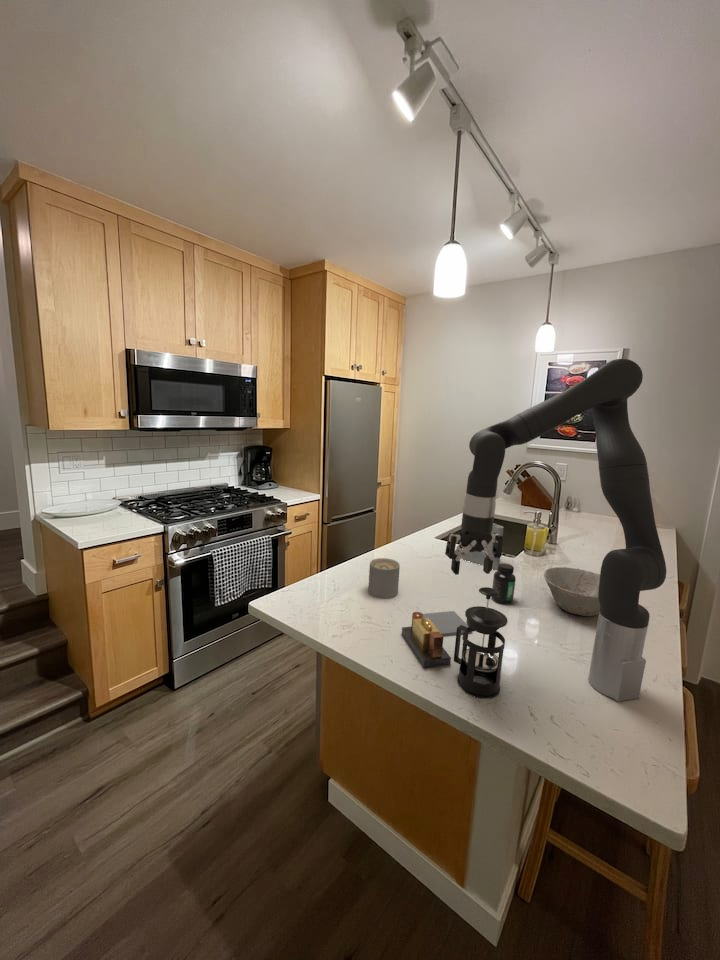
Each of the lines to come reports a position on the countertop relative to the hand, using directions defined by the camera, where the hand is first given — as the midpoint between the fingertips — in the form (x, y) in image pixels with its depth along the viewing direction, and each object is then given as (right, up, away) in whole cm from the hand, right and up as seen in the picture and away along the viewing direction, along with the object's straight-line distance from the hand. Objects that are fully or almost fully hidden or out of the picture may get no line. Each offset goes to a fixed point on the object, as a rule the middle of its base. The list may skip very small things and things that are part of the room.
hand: (471, 573), depth 104 cm
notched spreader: (+21, -11, +62) cm, 66 cm away
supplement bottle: (+19, -16, +31) cm, 40 cm away
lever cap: (-12, -18, +1) cm, 21 cm away
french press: (-2, -23, -11) cm, 25 cm away
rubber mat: (-4, -18, +14) cm, 23 cm away
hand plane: (-12, -20, +1) cm, 23 cm away
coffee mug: (-19, -14, +34) cm, 41 cm away
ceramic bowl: (+42, -18, +27) cm, 53 cm away
